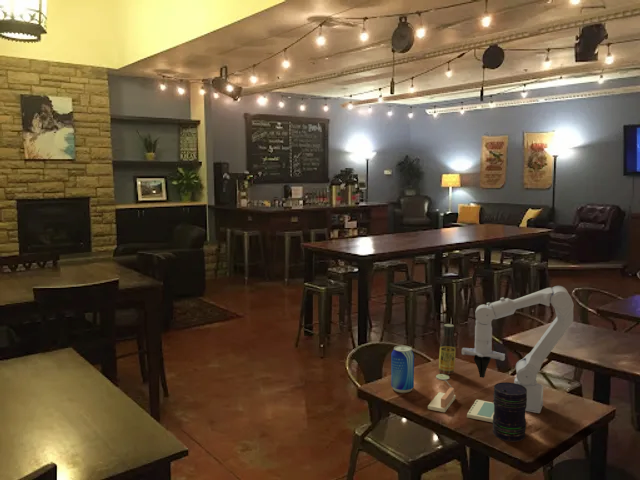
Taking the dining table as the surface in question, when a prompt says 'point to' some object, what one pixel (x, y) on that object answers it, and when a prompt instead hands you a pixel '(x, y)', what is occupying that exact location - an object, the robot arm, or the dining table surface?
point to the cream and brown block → (442, 401)
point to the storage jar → (509, 411)
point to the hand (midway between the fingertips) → (482, 376)
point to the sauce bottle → (447, 351)
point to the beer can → (402, 369)
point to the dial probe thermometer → (443, 377)
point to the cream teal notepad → (482, 411)
